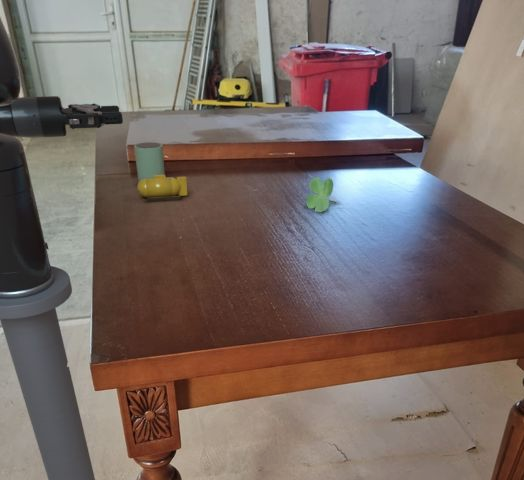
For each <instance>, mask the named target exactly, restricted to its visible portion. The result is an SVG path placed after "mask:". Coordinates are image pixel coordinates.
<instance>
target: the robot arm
mask: <svg viewBox="0 0 524 480" xmlns="http://www.w3.org/2000/svg"><path fill="white" fill-rule="evenodd" d="M21 79H22V78H21V71H20V66H19V62H18V58H17V56H16V52H15V49H14V46H13V44H12V41H11V39H10V36H9V34H8V31H7V29H6V27H5V24H4V22H3V20H2V18H1V17H0V298H3V299H14V298H22V297H27V296H31V295H35V294H38V293H40V292H42V291H44V290H46V289H48V288H49V287H50V286H51V285H52V284H53V282H54V277H53V273H52V270H51V266H52V265H51V263H50V258H49V254H48V250H49V245H48V242H46V240H45V236H44V232H43V227H42V223H41V218H40V214H39V210H38V205H37V201H36V197H35V191H34V188H33V183H32V179H31V175H30V174H31V173H30V170H29V165H28V162H27V155H26V152H25V148H24V145H23V143H22V142H21V140H19V138H26V139H27V138H28V139H29V138H30V139H34V138H55V137H66V136H67V126H69V129H72V130H74V129H94V128H95V129H100V128H102V127H103V126H105V125H122V124H123V122H124V119H123V113H122V112H121V111H120V107H119V106H118V105H100V104H97V103H91V104H90V103H83V104H78V103H73V104H71V103H70V104H67V107H65V108H64V107H63V104H62V100H61V98H60V96H57V95H54V96H53V95H51V96H23V97H19V96H20V93H21V84H22V82H21V81H22V80H21Z"/></svg>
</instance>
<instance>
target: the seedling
mask: <svg viewBox="0 0 524 480" xmlns="http://www.w3.org/2000/svg"><path fill="white" fill-rule="evenodd" d="M308 188H309V190H310V192H312V193H310V194H308V195H307V196H306V200H305V203H306V206H307V208H308V209H310V210H311V209H314V212H316V213H322V212H324V211H326V210H327V209H328V208H329V206H330V203H335V204H336V203H337V202H336V201H335V200H330V198H329V197H330V196H331V195H332V194H333V190H334V181H333V179H332V178H330V177H327V178H325V180H324V181H322V179H321V178H320V177H318V176H316V177H313V178H312V179H311V180H310V181H309V185H308Z"/></svg>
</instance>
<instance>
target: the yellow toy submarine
mask: <svg viewBox="0 0 524 480" xmlns="http://www.w3.org/2000/svg"><path fill="white" fill-rule="evenodd" d="M187 179H188V178H187V176H176V177H172V176H170V177H169V176H167V177H166V174H165V175H154V178H144V179H142V180H140V181H139V183H138V182H137V185H136V189H137V192H138V194H139V195H140V196H142V197H144V198H146V200H147V202H164V201H165V202H168V201H181V200H182V196H188V180H187Z"/></svg>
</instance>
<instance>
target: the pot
mask: <svg viewBox="0 0 524 480" xmlns="http://www.w3.org/2000/svg"><path fill="white" fill-rule="evenodd" d="M133 148H134V150H133V151H134V158H135V167H136V175H137V184H138V183H139V181H140V180H142V179H144V178H154V175H165V176H166V170H165V169H166V167H165V158H164V157H165V156H164V145H163V143H160V142H155V141H154V142H153V141H147V142H138V143H136V144H134V145H133Z"/></svg>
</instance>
